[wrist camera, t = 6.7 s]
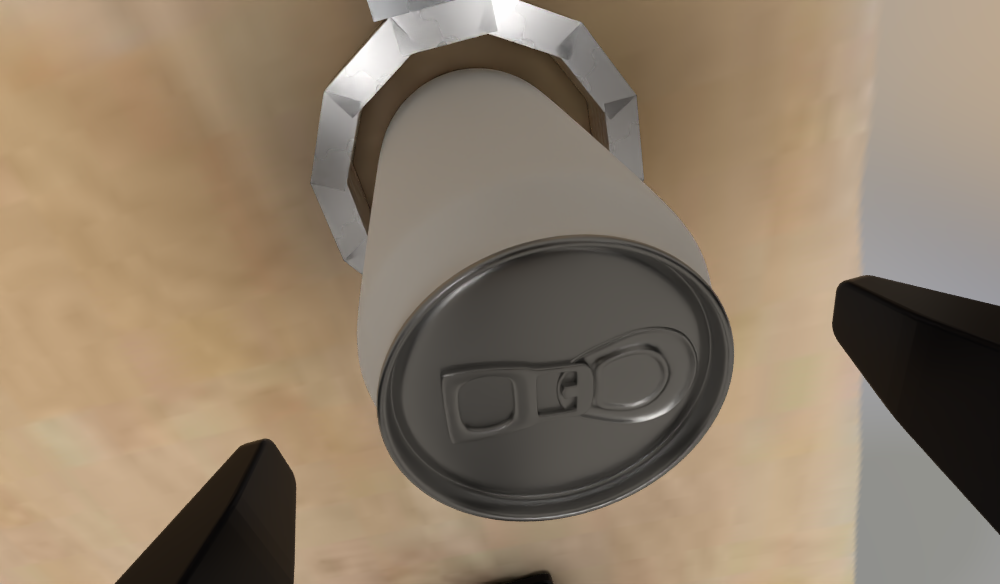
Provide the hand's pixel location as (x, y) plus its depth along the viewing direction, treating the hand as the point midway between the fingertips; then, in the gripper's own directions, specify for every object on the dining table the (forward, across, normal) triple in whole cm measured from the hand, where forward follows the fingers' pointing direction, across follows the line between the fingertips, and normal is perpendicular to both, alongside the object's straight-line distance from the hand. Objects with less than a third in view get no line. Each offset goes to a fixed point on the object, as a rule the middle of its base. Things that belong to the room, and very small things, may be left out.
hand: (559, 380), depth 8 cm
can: (+12, 0, 0) cm, 12 cm away
